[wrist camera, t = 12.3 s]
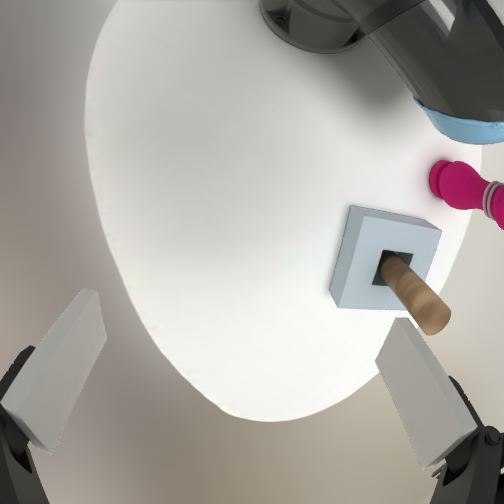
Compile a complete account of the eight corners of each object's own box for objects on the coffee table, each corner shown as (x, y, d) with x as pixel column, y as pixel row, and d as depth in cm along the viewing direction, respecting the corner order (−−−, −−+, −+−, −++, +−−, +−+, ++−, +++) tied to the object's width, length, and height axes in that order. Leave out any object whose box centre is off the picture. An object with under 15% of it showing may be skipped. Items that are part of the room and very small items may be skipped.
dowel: (374, 244, 40) (432, 306, 25) (395, 247, 40) (455, 306, 25) (367, 268, 42) (417, 336, 27) (388, 270, 42) (441, 334, 27)
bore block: (350, 205, 39) (363, 215, 34) (425, 220, 40) (442, 230, 35) (329, 290, 44) (337, 307, 40) (400, 294, 45) (412, 310, 41)
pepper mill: (463, 173, 36) (552, 209, 18) (445, 208, 39) (530, 259, 21) (438, 148, 35) (536, 175, 17) (419, 185, 38) (512, 231, 19)
